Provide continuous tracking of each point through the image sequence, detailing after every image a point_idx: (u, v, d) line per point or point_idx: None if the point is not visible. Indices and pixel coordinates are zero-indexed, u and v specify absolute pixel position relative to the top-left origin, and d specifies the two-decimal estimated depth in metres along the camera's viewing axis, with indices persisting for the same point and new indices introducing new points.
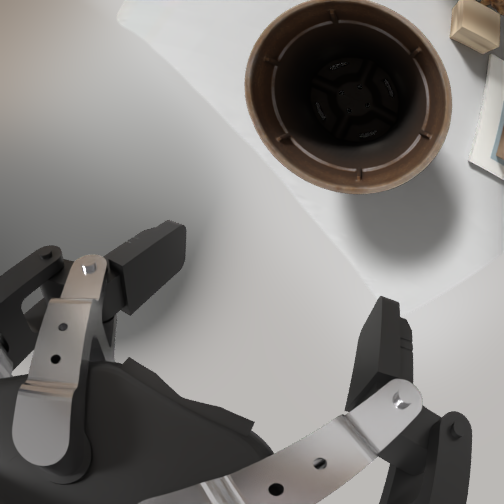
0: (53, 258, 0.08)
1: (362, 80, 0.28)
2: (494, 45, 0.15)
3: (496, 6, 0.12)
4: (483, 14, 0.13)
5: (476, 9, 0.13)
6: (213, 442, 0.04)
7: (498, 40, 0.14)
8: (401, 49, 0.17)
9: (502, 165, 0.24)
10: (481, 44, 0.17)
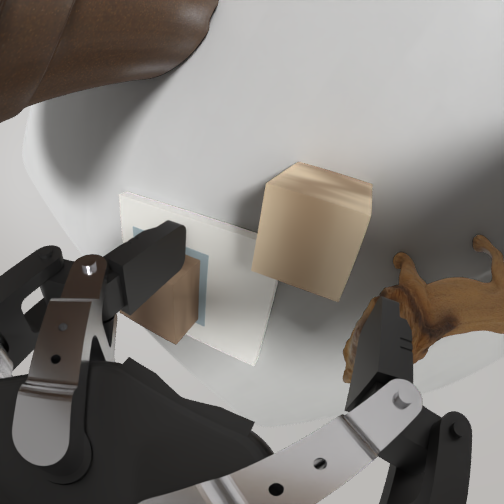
0: (53, 258, 0.08)
1: None
2: None
3: None
4: (322, 254, 0.14)
5: (333, 240, 0.13)
6: (213, 442, 0.04)
7: (270, 274, 0.16)
8: (68, 33, 0.07)
9: None
10: None
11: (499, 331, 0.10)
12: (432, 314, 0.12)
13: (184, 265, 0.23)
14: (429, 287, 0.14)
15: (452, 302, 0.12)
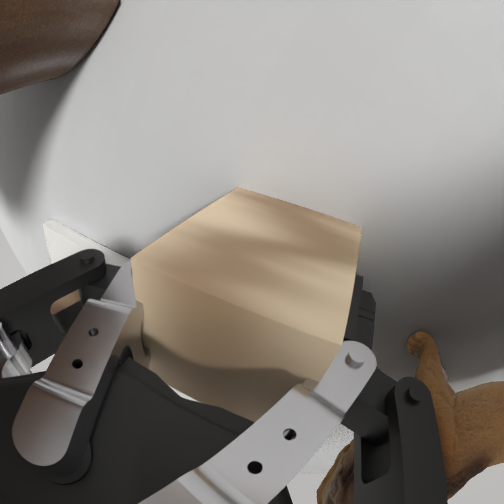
0: (96, 262, 0.08)
1: None
2: None
3: None
4: (245, 384, 0.07)
5: (263, 371, 0.06)
6: (213, 442, 0.04)
7: None
8: None
9: None
10: None
11: None
12: (456, 460, 0.05)
13: None
14: (460, 409, 0.07)
15: (491, 439, 0.05)
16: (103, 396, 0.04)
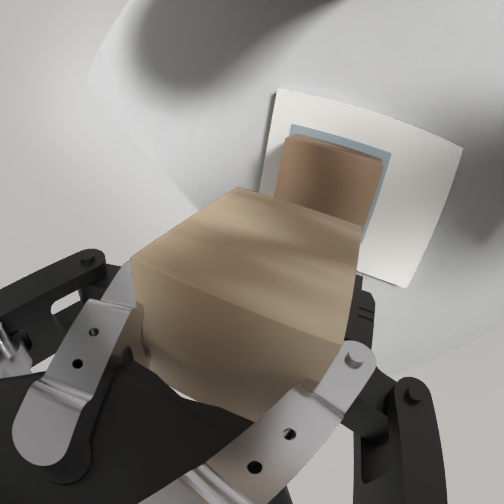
0: (96, 262, 0.08)
1: None
2: None
3: None
4: (245, 384, 0.07)
5: (263, 371, 0.06)
6: (213, 442, 0.04)
7: None
8: None
9: None
10: None
11: None
12: None
13: (373, 158, 0.19)
14: None
15: None
16: (103, 396, 0.04)
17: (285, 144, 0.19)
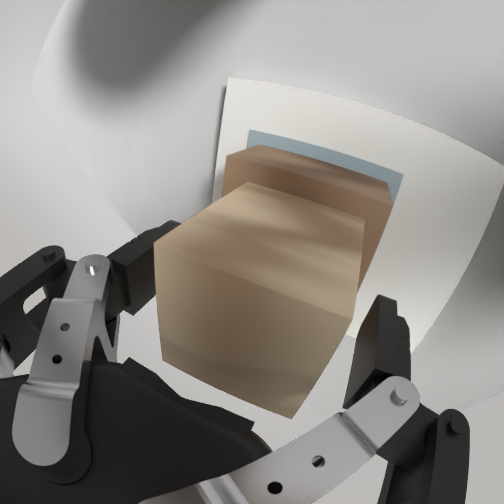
0: (56, 258, 0.08)
1: None
2: None
3: None
4: (260, 364, 0.07)
5: (278, 349, 0.07)
6: (213, 442, 0.04)
7: None
8: None
9: None
10: None
11: None
12: None
13: (375, 184, 0.12)
14: None
15: None
16: (87, 385, 0.05)
17: (227, 166, 0.12)
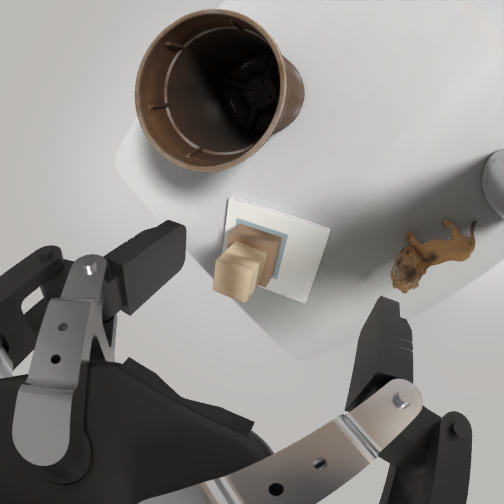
0: (53, 258, 0.08)
1: (278, 99, 0.34)
2: None
3: (402, 251, 0.33)
4: (236, 285, 0.38)
5: (239, 281, 0.37)
6: (213, 442, 0.04)
7: (220, 291, 0.40)
8: None
9: None
10: None
11: (457, 259, 0.29)
12: (425, 253, 0.30)
13: (275, 239, 0.42)
14: (422, 244, 0.32)
15: (433, 248, 0.30)
16: (86, 385, 0.05)
17: (229, 236, 0.42)
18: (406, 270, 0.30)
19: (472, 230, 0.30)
